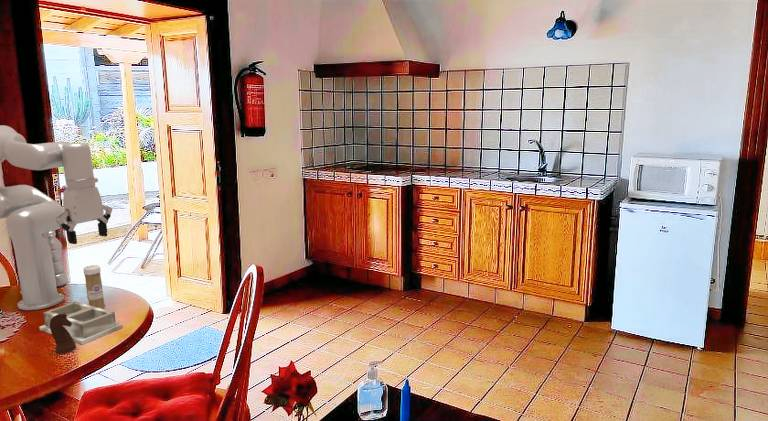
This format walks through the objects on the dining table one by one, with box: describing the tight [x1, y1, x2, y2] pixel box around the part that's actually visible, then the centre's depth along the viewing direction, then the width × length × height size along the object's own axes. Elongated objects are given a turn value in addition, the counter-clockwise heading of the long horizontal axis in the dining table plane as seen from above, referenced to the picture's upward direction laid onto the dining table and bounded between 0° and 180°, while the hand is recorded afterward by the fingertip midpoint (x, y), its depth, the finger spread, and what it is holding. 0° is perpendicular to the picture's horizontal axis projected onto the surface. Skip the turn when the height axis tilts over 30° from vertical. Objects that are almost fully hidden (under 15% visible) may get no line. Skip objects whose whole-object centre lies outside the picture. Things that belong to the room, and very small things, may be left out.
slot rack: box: [38, 301, 123, 345], centre depth 154 cm, size 20×12×5 cm, turn 61°
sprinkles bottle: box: [83, 264, 106, 309], centre depth 168 cm, size 5×5×13 cm
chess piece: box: [50, 313, 77, 355], centre depth 140 cm, size 5×5×10 cm
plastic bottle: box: [42, 230, 68, 287], centre depth 188 cm, size 6×7×20 cm
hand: (88, 239), depth 165 cm, fingers open, 9 cm apart
